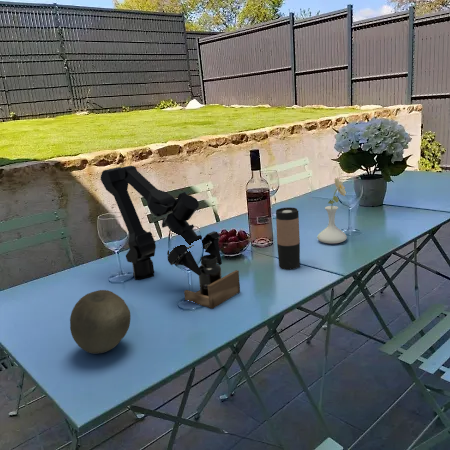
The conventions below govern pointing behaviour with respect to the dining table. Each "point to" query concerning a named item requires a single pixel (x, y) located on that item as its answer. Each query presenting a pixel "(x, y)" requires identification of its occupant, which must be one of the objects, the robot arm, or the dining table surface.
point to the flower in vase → (333, 220)
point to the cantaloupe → (99, 321)
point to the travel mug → (288, 238)
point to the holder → (217, 291)
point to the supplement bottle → (208, 272)
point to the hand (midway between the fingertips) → (211, 269)
